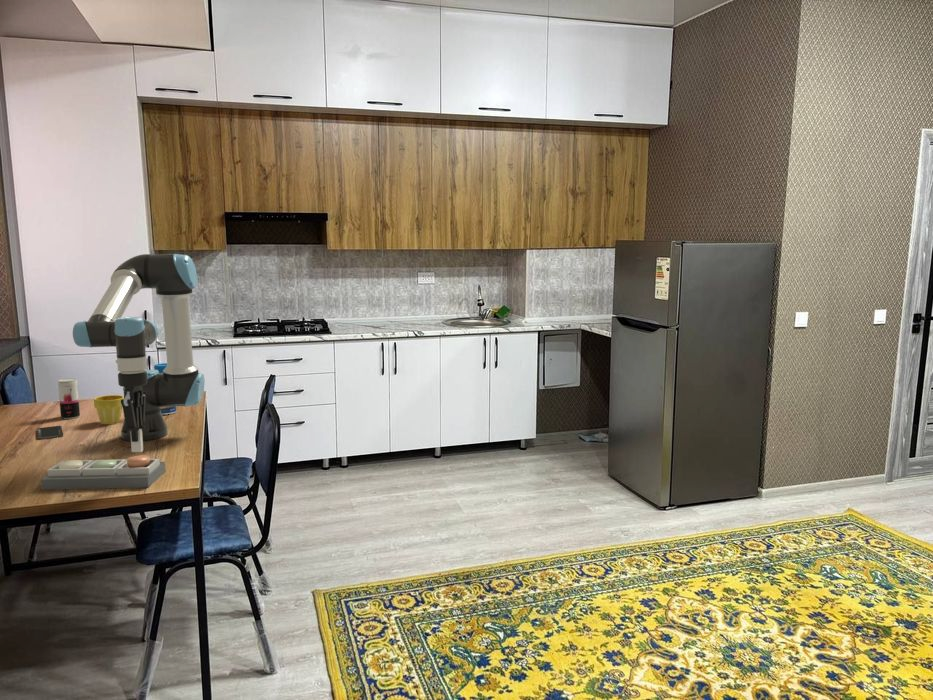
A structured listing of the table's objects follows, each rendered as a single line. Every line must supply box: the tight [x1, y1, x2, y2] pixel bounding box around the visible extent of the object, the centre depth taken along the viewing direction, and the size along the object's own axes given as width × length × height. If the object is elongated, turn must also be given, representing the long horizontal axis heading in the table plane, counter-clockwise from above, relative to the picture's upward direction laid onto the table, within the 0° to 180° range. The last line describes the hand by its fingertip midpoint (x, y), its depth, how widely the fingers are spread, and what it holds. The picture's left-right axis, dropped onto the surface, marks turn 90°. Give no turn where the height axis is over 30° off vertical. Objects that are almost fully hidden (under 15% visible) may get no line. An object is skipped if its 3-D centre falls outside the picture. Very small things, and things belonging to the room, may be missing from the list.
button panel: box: [40, 458, 167, 491], centre depth 203 cm, size 14×29×5 cm, turn 95°
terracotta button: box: [126, 454, 151, 468], centre depth 203 cm, size 6×6×2 cm
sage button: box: [93, 459, 117, 468], centre depth 203 cm, size 6×6×2 cm
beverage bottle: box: [153, 362, 178, 416], centre depth 282 cm, size 8×8×20 cm
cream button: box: [59, 459, 83, 469], centre depth 202 cm, size 6×6×2 cm
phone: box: [36, 425, 64, 441], centre depth 252 cm, size 8×1×15 cm
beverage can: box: [57, 377, 81, 420], centre depth 275 cm, size 7×7×15 cm
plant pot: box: [93, 394, 124, 425], centre depth 268 cm, size 10×10×10 cm
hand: (137, 451), depth 203 cm, fingers closed
